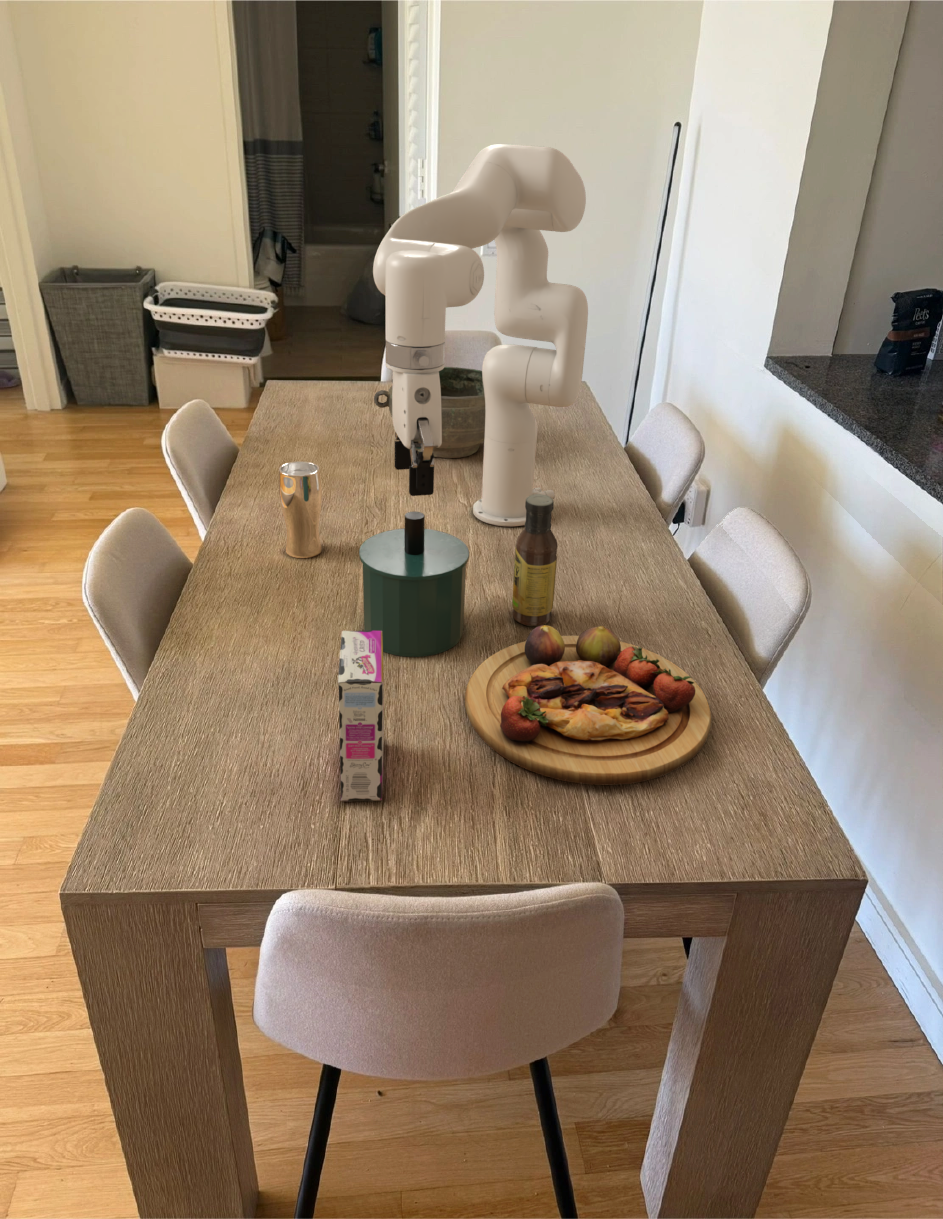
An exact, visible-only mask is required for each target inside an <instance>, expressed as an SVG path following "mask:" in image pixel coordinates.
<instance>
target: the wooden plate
mask: <svg viewBox="0 0 943 1219" xmlns="http://www.w3.org/2000/svg"><path fill="white" fill-rule="evenodd" d="M464 707H465V712H466V715H467V718H468V720H469V723H470V724H471V726H472V729H474V731H475V732H476V734H477V735H478V736H479V737H480V738H481V739H482V741H483V742H484V743H485V744H486V745H487V746H488V747H489V748H490V749H491V750H493V751H494V752H496V754H499V755H500V756H501V757H503V758H504V759H506V760H508V761H509V762H511V763H513V764H515V765H517V766H518V767H521V768H523V769H525V770H527V771H530V772H533V773H536V774H538V775H542V776H544V777H548V778H551V779H554V780H559V781H564V782H568V783H575V784H583V785H595V786H597V785H599V786H616V785H629V784H637V783H642V782H646V781H650V780H654V779H656V778H660V777H663V776H665V775H667V774H670V773H673V772H674V771H676V770H678V769H680V768H681V767H683V766H684V765H687V763H689V762H690V761H692V760H693V759H694V758H695V757H696V756H697V755H698V754H699V753H700V752H701V750H702V749H703V747H705V744H706V743H707V741H708V738H709V736H710V732H711V728H712V724H713V723H712V713H711V712H712V711H711V707H710V705H709V702H708V699H707V697H706V695H705V692H704V691H703V690H702V688H701V686H699V685H698V683H697V682H696V681H695V680H694V679H693V678H692V677H691V676H690V675H689V674H688V673H687V672H686V671H685V670H683V669H681V667H679V666H678V665H677V664H675V663H673V662H672V661H670V660H668V659H667V658H666V657H663V656H662V655H660V654H657V653H656V652H653V651H651V650H649V649H647V648H643V647H641V646H637V645H634V644H631V643H629V642H624V641H620V639H619V637H618V636H617V634H616V633H615V632H614V631H612V630H611V629H610V628H607V627H605V626H604V625H598V626H593V627H590V628H588V629H586V630H584V631H582V632H581V634H580V635H561V634H560V632H559V631H558V630H557V629H556V628H555V627H553V626H551V625H546V624H545V625H542V626H535V628H533V629H532V630H531V631H530V633H529V634H528V636H527V638H526V640H525V641H521V642H518V643H515V644H513V645H510V646H507V647H504V648H503V649H500V650H499V651H497V652H495V653H493V654H492V655H490V656H489V657H486V659H485V660H483V661H482V662H481V663H480V664H479V665H478V666H477V668H476V669H475V670H474V672H473V673H472V675H471V676H470V678H469V680H468V682H467V684H466V688H465V693H464Z"/></svg>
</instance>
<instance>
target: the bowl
mask: <svg viewBox="0 0 943 1219" xmlns="http://www.w3.org/2000/svg"><path fill="white" fill-rule="evenodd" d="M439 377H440V388H441V419H442V444H441V446H440V447H439V448H436V447H435V446H434V445H433V454H434V458H442V459H460V458H465V457H468V456H469V457H470V456H472V455H473V454H475V453H477V452H478V450H479V448H480V445H481V444H482V443H484V438H485V394H484V386H483V378H482V369H481V370H480V369H475V368H467V367H459V366H444V369H442V370H441V371H439ZM392 385H393V378H392V379H391V386H390V387H389V388H388V391H387V390H384V389H381V390H379V391H377V392H376V393H375V394H374V396H373V402H374V404H375V405H376V406H377V407H378V408H380V409H381V408H388V410H389V413H390V416H391V419H392V420H393V418H392ZM380 396H385V397H386V401H384V402H381V401H379V398H380ZM418 443H421V441H418ZM419 452H422V451H421V450H418V453H419Z"/></svg>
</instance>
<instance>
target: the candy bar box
mask: <svg viewBox="0 0 943 1219" xmlns="http://www.w3.org/2000/svg"><path fill="white" fill-rule="evenodd" d="M340 637H341V638H340V647H339V648H340V649H339V659H338V660H339V662H338V676H337V678H338V679H337V684H338V714H339V715H338V724H339V726H338V727H339V756H340V757H339V763H340V764H339V767H340V768H339V770H340V772H339V773H340V801H341V802H380V801H382V799H383V782H384V779H383V778H384V747H385V746H384V745H385V744H384V740H385V738H384V736H385V735H384V734H385V726H384V725H385V710H384V709H385V688H384V687H385V679H384V678H385V677H384V669H385V668H384V652H383V639H382V631H364V630H342V631H341V635H340Z"/></svg>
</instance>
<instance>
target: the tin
mask: <svg viewBox="0 0 943 1219" xmlns="http://www.w3.org/2000/svg"><path fill="white" fill-rule="evenodd" d="M466 572H467V564H466V565H465V566H464V567H463V568H462V569H460V570H459V571H457V572H455V573H453V574H450V575H447V576H444V577H440V578H435V579H428V580H403V579H395V578H390V577H386V576H383V575H380V574H377V573H375V572H373V571H371V570H370V569H368V568H367V567H366V566H364V565H363V564H362V596H363V597H362V598H363V600H362V601H363V631H382V639H383V653H386V654H389V655H393V656H398V657H405V658H406V657H407V658H422V657H430V656H435V655H438V654H442V653H444V652H447V651H449V650H451V649H453V648H454V647H455V646H456V645H457V644H458V643H459V642H460V641H461V639H462V637H463V634H464V633H463V632H464V626H465V625H464V624H465V601H466V599H465V598H466V576H467V575H466V574H467V573H466Z"/></svg>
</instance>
